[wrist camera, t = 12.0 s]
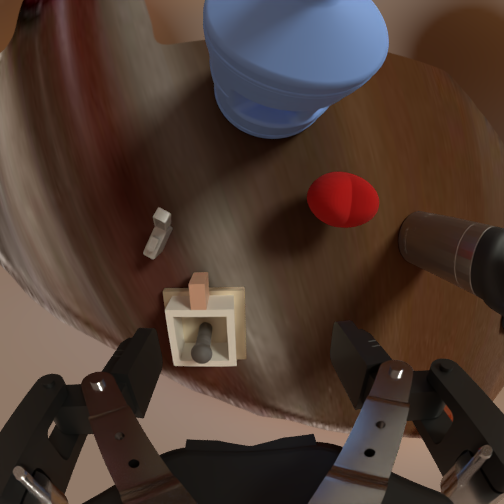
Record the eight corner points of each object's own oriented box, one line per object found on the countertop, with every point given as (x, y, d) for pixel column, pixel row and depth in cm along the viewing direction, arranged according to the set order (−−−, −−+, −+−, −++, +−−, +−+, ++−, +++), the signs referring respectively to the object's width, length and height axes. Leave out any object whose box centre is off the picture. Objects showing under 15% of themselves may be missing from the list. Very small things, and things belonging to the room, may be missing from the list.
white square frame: (232, 271, 38) (232, 283, 33) (235, 347, 41) (236, 365, 36) (169, 272, 38) (161, 284, 33) (179, 347, 40) (174, 365, 36)
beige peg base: (244, 286, 40) (247, 316, 31) (245, 354, 43) (249, 392, 33) (165, 288, 40) (146, 316, 30) (174, 354, 42) (162, 391, 33)
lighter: (161, 252, 38) (145, 267, 31) (151, 247, 38) (133, 261, 30) (182, 209, 37) (169, 214, 30) (171, 203, 37) (156, 207, 29)
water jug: (197, 71, 33) (155, -71, 6) (290, 37, 32) (350, -89, 5) (244, 158, 36) (275, 78, 9) (339, 117, 36) (475, 43, 8)
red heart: (355, 178, 38) (390, 176, 28) (351, 224, 39) (384, 235, 30) (296, 170, 37) (317, 164, 27) (292, 219, 39) (312, 228, 29)
